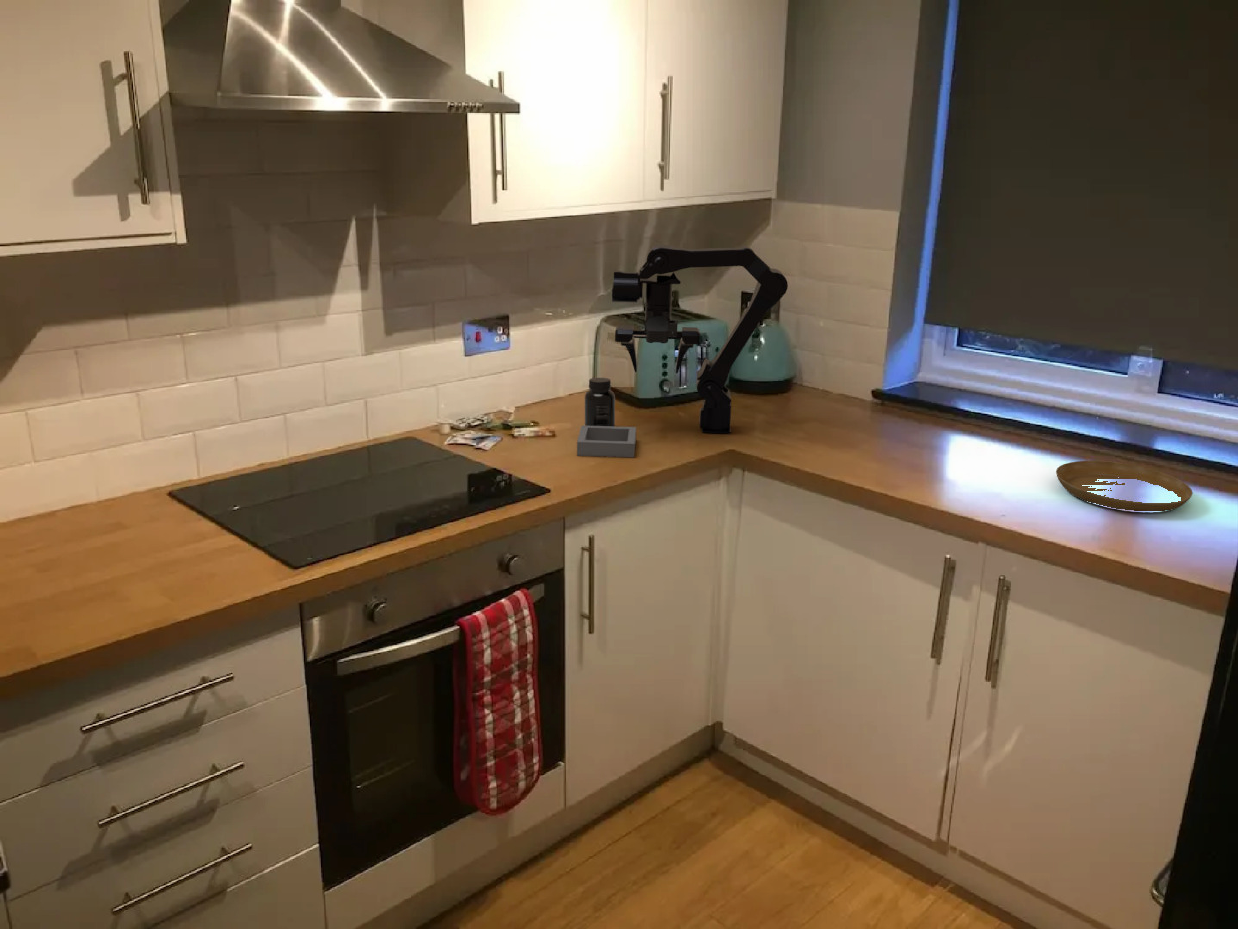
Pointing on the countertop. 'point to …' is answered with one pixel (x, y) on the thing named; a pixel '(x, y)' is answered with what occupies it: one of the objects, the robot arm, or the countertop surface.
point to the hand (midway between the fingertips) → (656, 372)
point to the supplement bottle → (599, 403)
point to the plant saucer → (1090, 471)
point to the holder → (606, 441)
